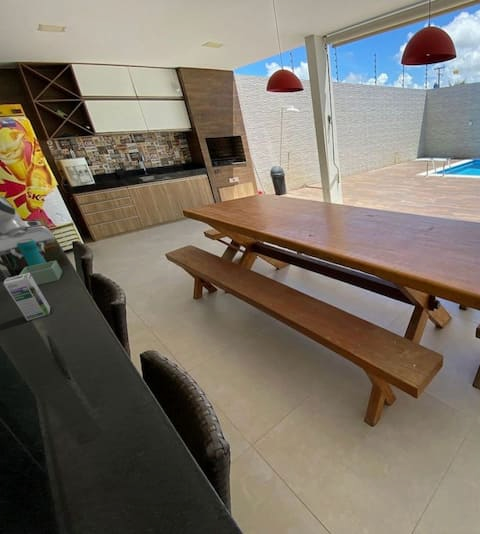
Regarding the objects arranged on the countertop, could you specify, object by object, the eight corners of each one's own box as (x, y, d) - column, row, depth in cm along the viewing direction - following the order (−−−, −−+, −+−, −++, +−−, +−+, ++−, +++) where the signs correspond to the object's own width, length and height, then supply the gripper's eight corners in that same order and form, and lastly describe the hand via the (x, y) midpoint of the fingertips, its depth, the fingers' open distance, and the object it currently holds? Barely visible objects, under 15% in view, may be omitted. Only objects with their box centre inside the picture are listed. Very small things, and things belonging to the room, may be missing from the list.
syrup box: (26, 321, 102) (2, 283, 95) (29, 314, 106) (5, 277, 100) (49, 314, 105) (27, 277, 99) (51, 307, 109) (29, 271, 103)
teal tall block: (52, 270, 140) (35, 239, 134) (36, 275, 136) (17, 244, 129) (47, 267, 143) (31, 237, 137) (31, 272, 139) (13, 242, 132)
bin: (26, 288, 125) (18, 275, 122) (31, 279, 133) (24, 267, 130) (58, 280, 130) (52, 268, 127) (62, 272, 138) (56, 260, 135)
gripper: (-21, 234, 127) (-3, 260, 126) (44, 220, 142) (61, 243, 141) (-17, 242, 131) (1, 267, 130) (46, 228, 146) (62, 250, 145)
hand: (32, 254), depth 136 cm, fingers closed on teal tall block, 5 cm apart
